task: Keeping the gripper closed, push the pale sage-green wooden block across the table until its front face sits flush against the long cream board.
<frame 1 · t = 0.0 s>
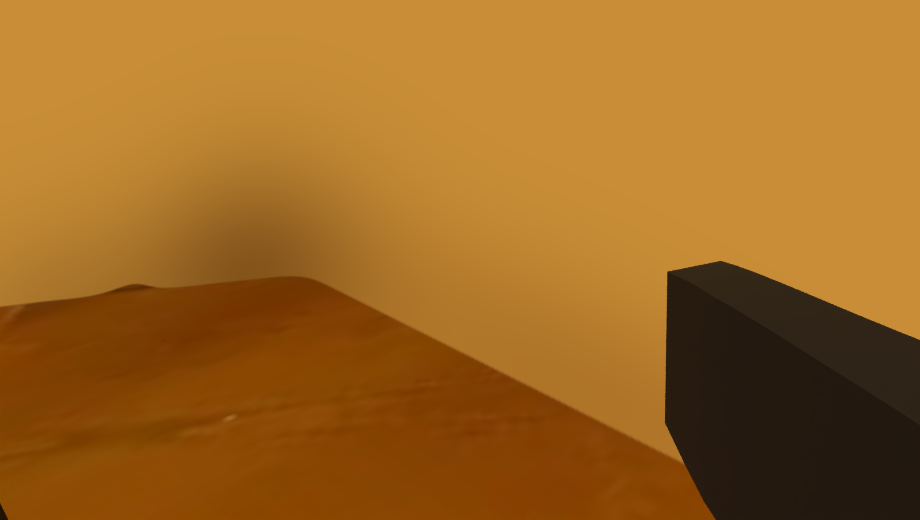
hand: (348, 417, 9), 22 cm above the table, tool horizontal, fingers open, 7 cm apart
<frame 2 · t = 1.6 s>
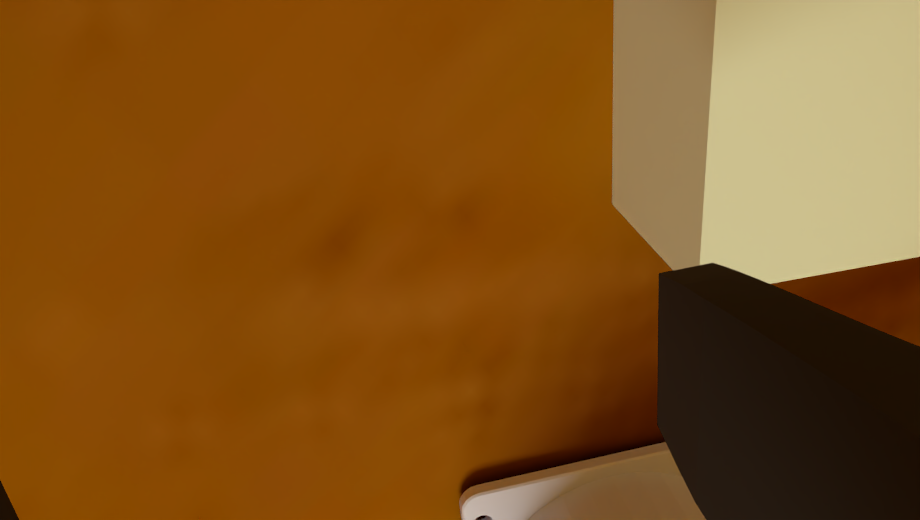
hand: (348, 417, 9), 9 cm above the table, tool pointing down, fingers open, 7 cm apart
block: (762, 50, 19), on the table
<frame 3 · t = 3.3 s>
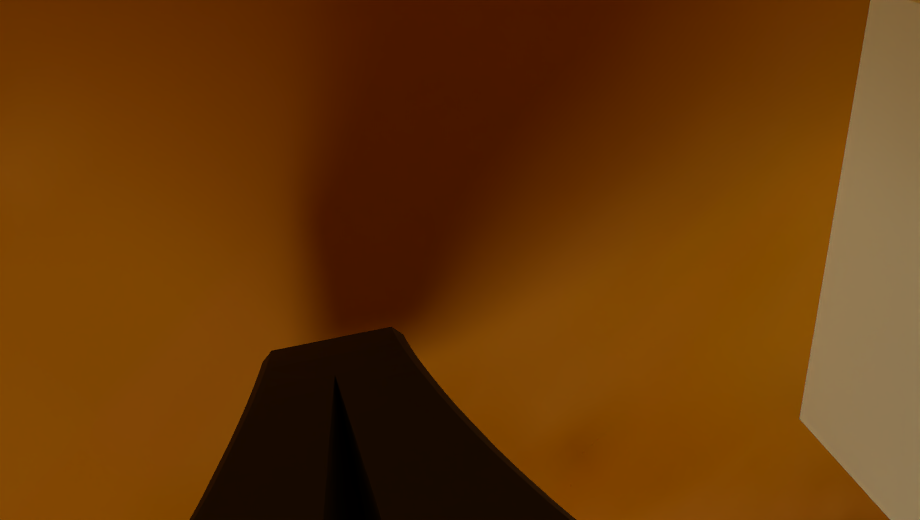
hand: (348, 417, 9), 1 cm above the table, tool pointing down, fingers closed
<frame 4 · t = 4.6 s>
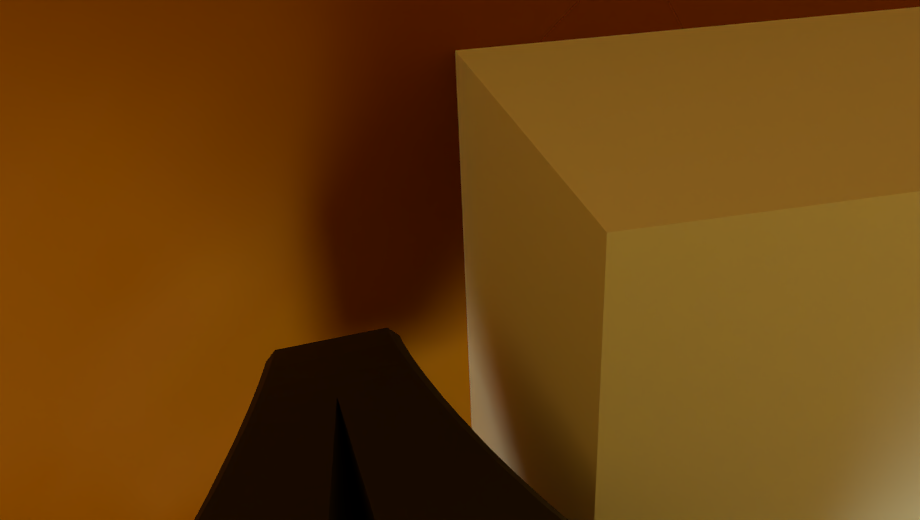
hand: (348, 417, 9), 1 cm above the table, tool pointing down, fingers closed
block: (734, 259, 11), on the table, touching gripper
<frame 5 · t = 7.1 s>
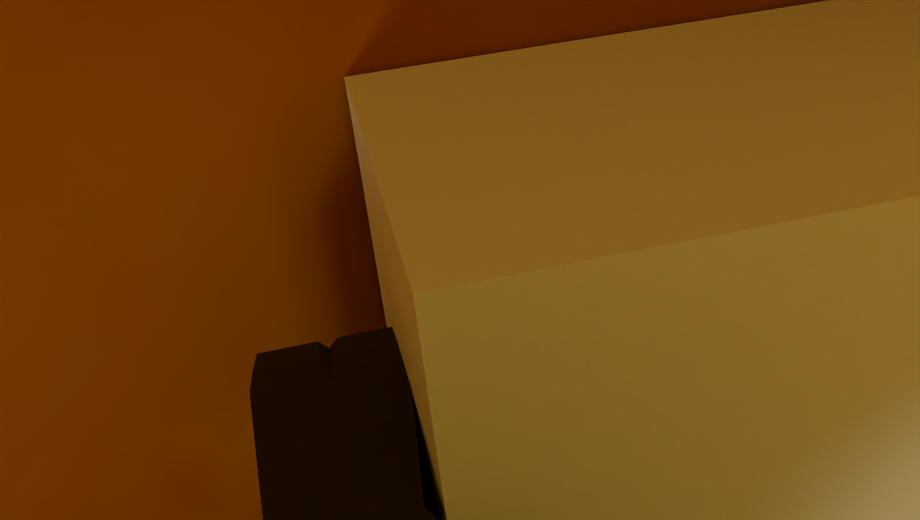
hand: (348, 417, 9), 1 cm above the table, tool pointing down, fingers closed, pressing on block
block: (666, 269, 10), on the table, touching board, gripper
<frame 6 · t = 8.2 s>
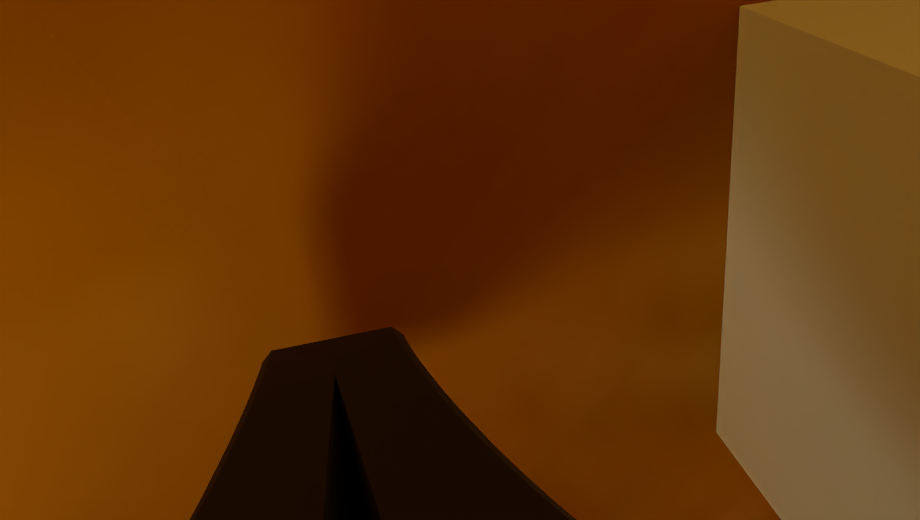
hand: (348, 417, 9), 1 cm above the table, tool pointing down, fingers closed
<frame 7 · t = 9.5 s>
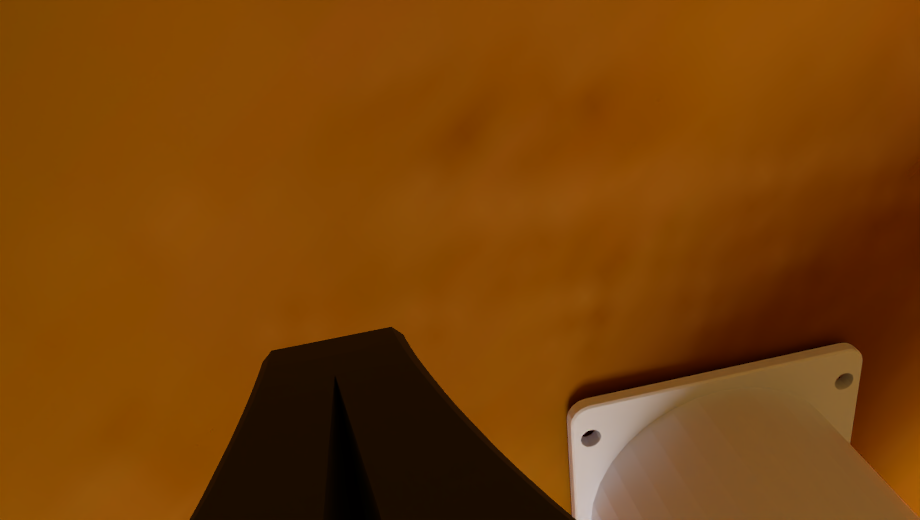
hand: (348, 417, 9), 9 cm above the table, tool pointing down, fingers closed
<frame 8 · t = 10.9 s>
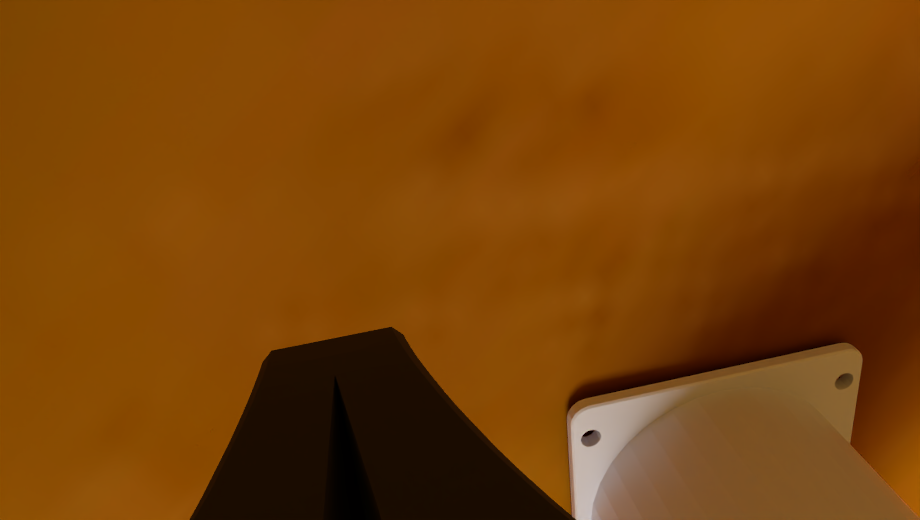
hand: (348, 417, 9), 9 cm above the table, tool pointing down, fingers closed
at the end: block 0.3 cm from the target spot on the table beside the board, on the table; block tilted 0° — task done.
